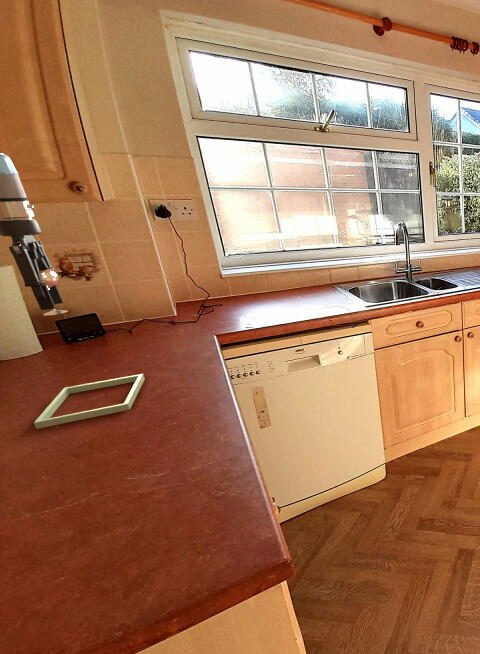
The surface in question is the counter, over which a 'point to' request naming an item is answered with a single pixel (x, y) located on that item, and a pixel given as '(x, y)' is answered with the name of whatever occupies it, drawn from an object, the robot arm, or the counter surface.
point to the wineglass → (50, 285)
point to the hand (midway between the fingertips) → (52, 306)
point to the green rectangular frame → (46, 421)
